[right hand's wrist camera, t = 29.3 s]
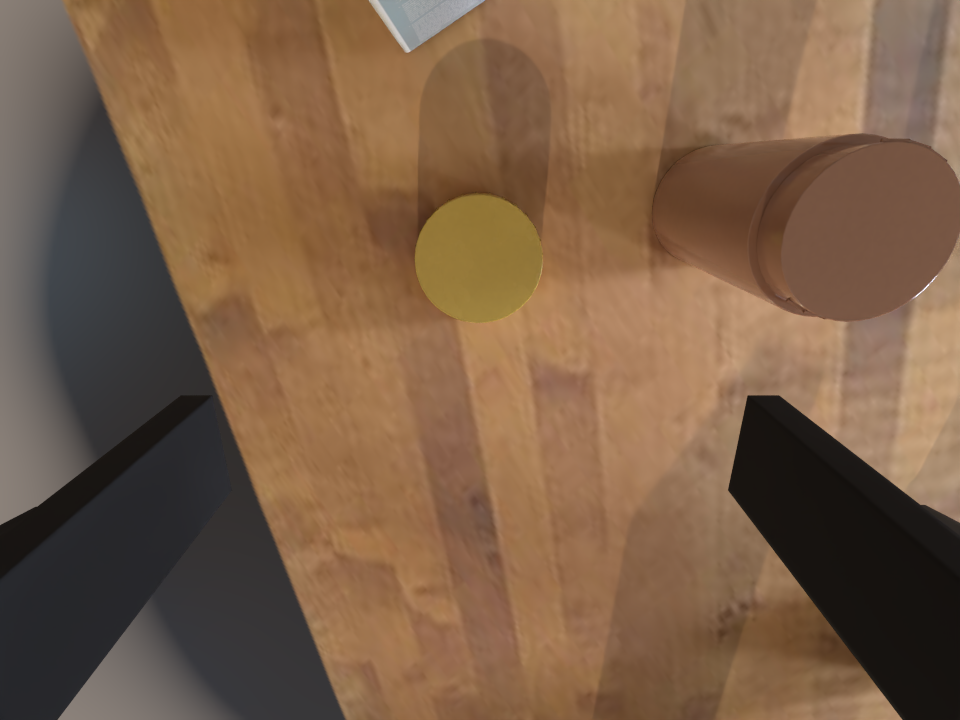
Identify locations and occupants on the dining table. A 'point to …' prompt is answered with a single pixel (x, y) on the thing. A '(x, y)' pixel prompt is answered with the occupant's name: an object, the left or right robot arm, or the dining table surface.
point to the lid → (478, 258)
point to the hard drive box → (420, 18)
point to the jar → (814, 220)
